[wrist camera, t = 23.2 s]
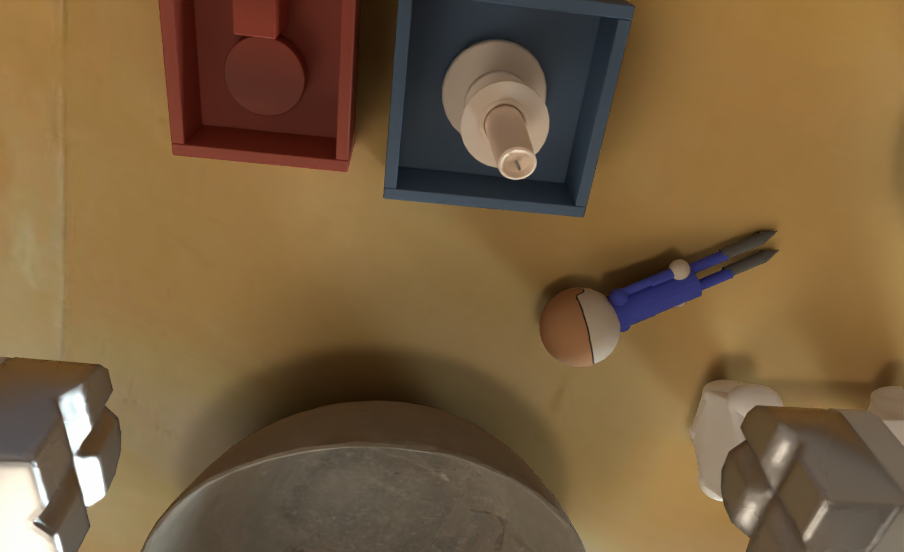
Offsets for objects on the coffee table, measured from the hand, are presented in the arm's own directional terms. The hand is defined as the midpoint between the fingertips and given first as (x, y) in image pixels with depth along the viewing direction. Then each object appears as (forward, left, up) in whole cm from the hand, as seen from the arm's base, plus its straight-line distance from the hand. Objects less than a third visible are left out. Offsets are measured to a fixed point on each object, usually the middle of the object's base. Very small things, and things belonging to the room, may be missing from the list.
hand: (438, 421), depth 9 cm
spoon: (-1, -7, -27) cm, 28 cm away
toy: (+13, +15, -28) cm, 34 cm away
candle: (+3, +4, -27) cm, 28 cm away
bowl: (+33, 0, -28) cm, 43 cm away
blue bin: (+3, +4, -28) cm, 28 cm away
